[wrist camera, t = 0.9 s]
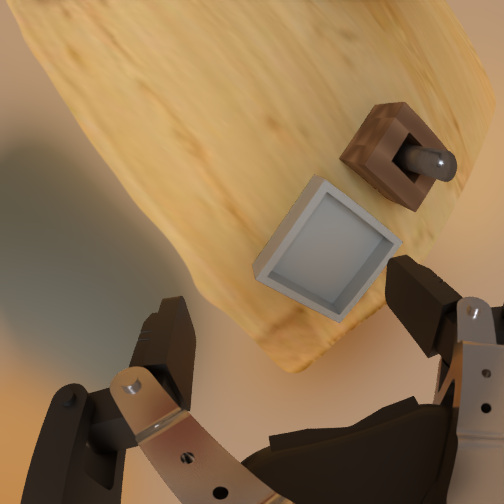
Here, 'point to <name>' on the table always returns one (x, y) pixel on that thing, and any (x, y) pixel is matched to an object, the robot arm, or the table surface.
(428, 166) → the pin
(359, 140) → the pin block
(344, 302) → the tray
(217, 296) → the table surface
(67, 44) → the table surface
